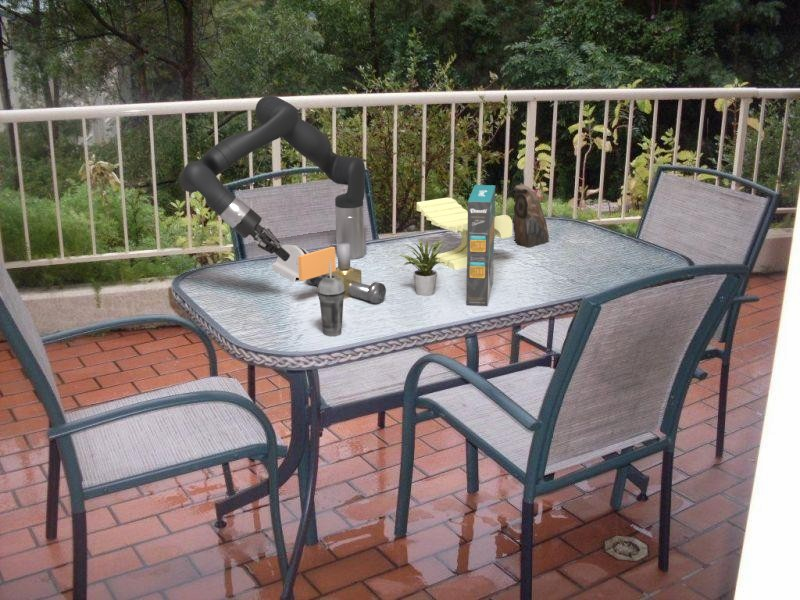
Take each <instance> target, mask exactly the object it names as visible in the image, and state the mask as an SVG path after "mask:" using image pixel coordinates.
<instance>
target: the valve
mask: <svg viewBox="0 0 800 600" xmlns="http://www.w3.org/2000/svg"><path fill="white" fill-rule="evenodd" d="M327 276H330V273H327V274H324V275H320V276H317V277H314V278H311V279H307V280H305V281H306V283H308V284H309V285H313V286H316V287H318V285H319V283H320V281H321V280H322V279H323V278H325V277H327ZM332 276H336V277H338V278H339V279H340V280H341V281H342V282H343V285H344V288H345V296H344V300H345V299H348V298H351V297H352V298H357V299H360V300H363V301H367V302H370V303H373V304H376V305H379V304H381V303H382V302H383V301H384V299H385V297H386V294H387V288H386V286H385V285H384V283H382V282H378V281H375V282H373V283H371V284H370V285H369V284H366V283H362V281H363V280H362V269H357V268H355V267H352V266H350V268H349V269H339V268H338V266H337V267H336V271H333V272H332Z"/></svg>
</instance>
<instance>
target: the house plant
mask: <svg viewBox="0 0 800 600" xmlns="http://www.w3.org/2000/svg"><path fill="white" fill-rule="evenodd" d="M417 240H418V242H419V243H418V244H419V245H418V244H417V243H415V242H414V245H416V246H417V248H418V250H419V252H418V251H417V250H416V248H414V247H413V246H411V245H408V244H405V243H402V245H404V246H407V247H406V249H408V248H409V251H411V253H413V255H415V256H416V258H414V257H411V256H409V255H404V254H399V256H400V257H402V259H404V260H407V261H406V262H405V263H403V267H404V266H406V265H409V264H411V265H412V266H414V267H415V269H417V270H414V271H413V280H414V285H415V291H416V294H417V295H418V296H420V297H421V296H422V297H428V296H429V297H430V296H433V295H434V294H435V288H436V285H437V284H436V283H437V279H438V272H437V271H436V270H433V268H434V267H435V266H436V265H437V264H438V265H439V264H440V263H444V262H438V261H436V260H437V259H440V258H435V257H436V256H437V254H440V252H441V250H442V249H443V248H444V247H443V246H442V244H441V243H442V242H443V241H445V239H442V240H439V241H436V242H433V243H432V245H431V246H430V248H429V243H428V241H425V243H424V245H423V242H422V241H421V240H420V238H417ZM441 246H442V247H441ZM440 247H441V248H440ZM439 249H440V250H439ZM438 250H439V251H438ZM444 264H445V263H444Z"/></svg>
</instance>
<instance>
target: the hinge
mask: <svg viewBox="0 0 800 600" xmlns="http://www.w3.org/2000/svg"><path fill="white" fill-rule="evenodd" d="M281 247H282V248H283V249H284V250H285V251H287V252H288V253H289V254H290V257H289V259H288V260H287V261H283V260H282V259H281V258H280V257H279V256H278V255H277V258H276V261H275V262H273V263H272V265H271V271H274V272H276V274H279V275H280V276H282V277H284V278H286V279H287V280H289V281H291V282H293V283H295V282H296V278H298V279H299V267H298V256H301V255H304V254H308V253H309V251H308V250H306V249H305V248H303V247H301V246H299V245H296V244H295V245H294V244H282V245H281Z"/></svg>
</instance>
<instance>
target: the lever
mask: <svg viewBox="0 0 800 600" xmlns="http://www.w3.org/2000/svg"><path fill="white" fill-rule="evenodd" d="M337 249H338V257H337V267H338V268H339V269H349V268H350V267H351V259H350V244H349V243H338V244H337V245H336V247H335V246H330V247H325V248H323V249H319V250H315V251H312V252H308V254H304V255H301V256H298V267H299V278H298V281H300V282H304V281H306V280H307V279H311V278H314V277H317V276H320V275H324V274H327V273H329V261H331V272H333V271H336V268H337V267H336V250H337Z"/></svg>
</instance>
